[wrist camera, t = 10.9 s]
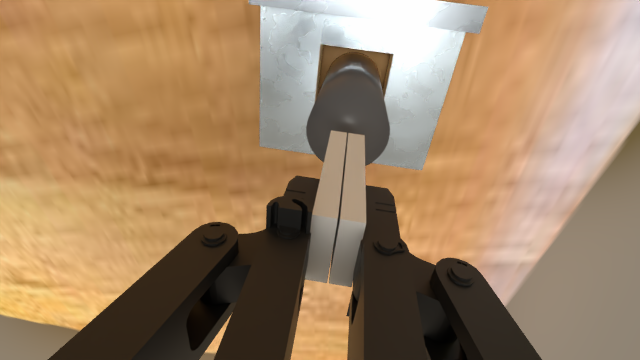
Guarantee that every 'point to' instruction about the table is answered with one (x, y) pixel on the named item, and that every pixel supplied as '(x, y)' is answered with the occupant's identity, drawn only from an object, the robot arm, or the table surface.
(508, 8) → the table surface
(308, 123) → the dark grey round peg
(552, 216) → the table surface
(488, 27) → the table surface
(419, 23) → the plate
